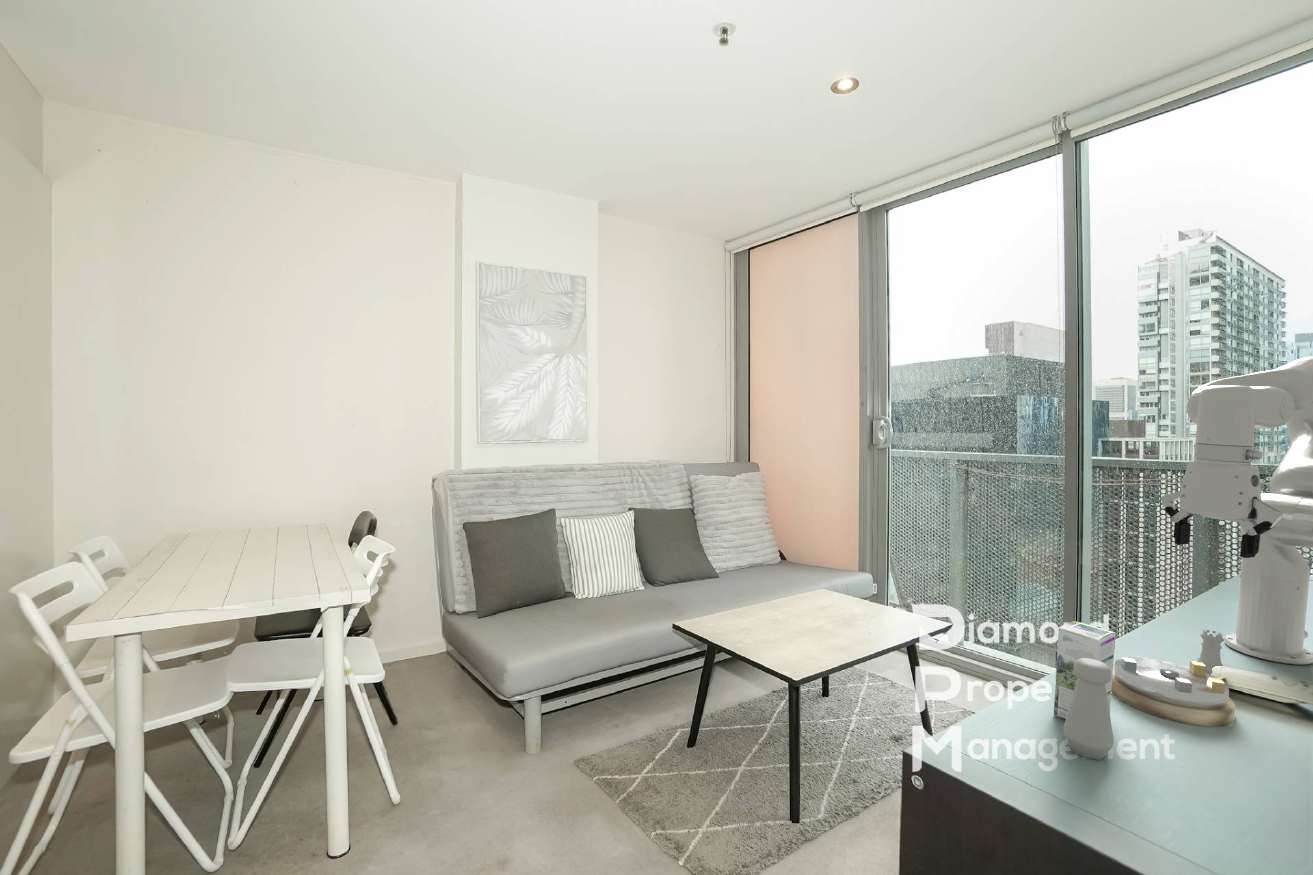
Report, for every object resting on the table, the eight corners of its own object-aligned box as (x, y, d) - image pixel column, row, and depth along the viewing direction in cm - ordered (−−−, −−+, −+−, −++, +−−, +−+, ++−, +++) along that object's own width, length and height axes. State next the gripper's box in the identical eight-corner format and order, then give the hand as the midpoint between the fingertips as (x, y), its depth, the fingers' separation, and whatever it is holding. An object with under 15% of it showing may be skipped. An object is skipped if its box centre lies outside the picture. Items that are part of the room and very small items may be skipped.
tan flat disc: (1143, 671, 111) (1144, 660, 111) (1256, 715, 96) (1257, 702, 96) (1085, 686, 105) (1086, 674, 105) (1196, 734, 90) (1197, 721, 90)
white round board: (1146, 662, 110) (1148, 643, 109) (1248, 700, 96) (1250, 678, 96) (1094, 675, 104) (1095, 655, 104) (1194, 716, 91) (1196, 693, 91)
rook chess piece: (1217, 672, 111) (1221, 629, 111) (1231, 682, 107) (1235, 638, 107) (1187, 668, 113) (1191, 626, 112) (1200, 678, 109) (1203, 635, 108)
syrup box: (1111, 723, 93) (1117, 631, 92) (1093, 733, 90) (1099, 638, 89) (1069, 706, 98) (1075, 619, 97) (1051, 716, 95) (1057, 626, 94)
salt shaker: (1121, 766, 82) (1127, 673, 81) (1074, 760, 83) (1080, 669, 82) (1099, 742, 88) (1105, 655, 87) (1055, 737, 89) (1060, 651, 88)
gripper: (1299, 460, 101) (1289, 561, 102) (1178, 451, 117) (1170, 538, 118) (1274, 460, 98) (1264, 564, 99) (1154, 450, 114) (1146, 540, 115)
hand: (1213, 550), depth 108 cm, fingers open, 9 cm apart
